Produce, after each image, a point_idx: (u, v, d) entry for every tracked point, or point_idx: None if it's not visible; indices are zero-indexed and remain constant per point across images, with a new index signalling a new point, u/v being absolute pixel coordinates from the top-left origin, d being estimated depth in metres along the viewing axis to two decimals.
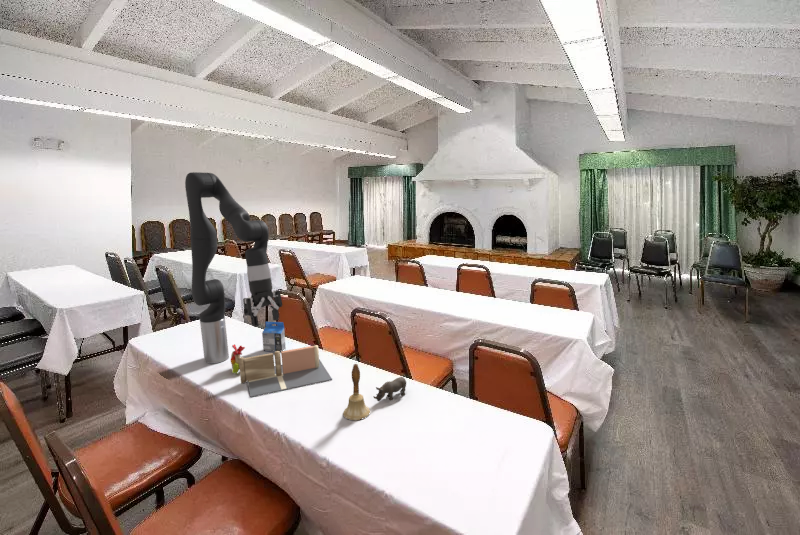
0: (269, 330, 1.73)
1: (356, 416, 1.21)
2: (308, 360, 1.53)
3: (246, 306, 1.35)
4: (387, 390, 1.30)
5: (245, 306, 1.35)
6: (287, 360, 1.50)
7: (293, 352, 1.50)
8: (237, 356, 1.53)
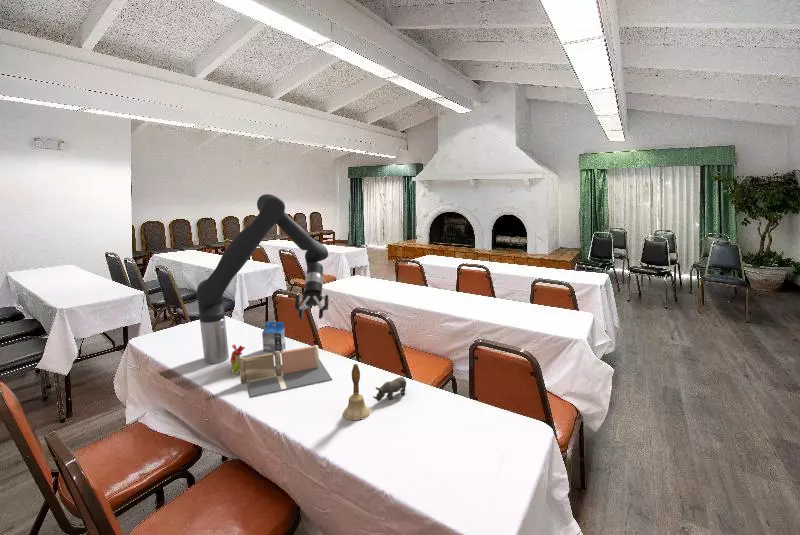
0: (269, 330, 1.73)
1: (356, 416, 1.21)
2: (308, 360, 1.53)
3: (328, 302, 1.72)
4: (387, 390, 1.31)
5: (328, 301, 1.71)
6: (287, 360, 1.50)
7: (293, 352, 1.50)
8: (237, 356, 1.53)
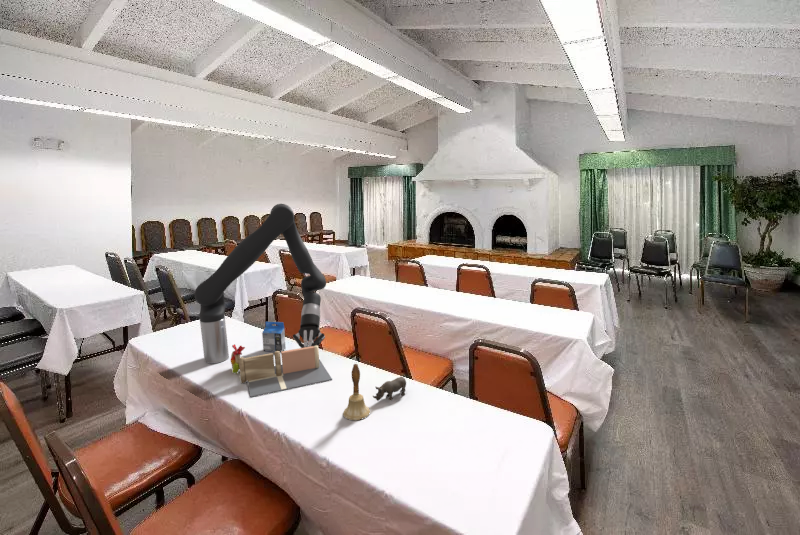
0: (269, 330, 1.73)
1: (356, 416, 1.21)
2: (308, 360, 1.53)
3: (320, 341, 1.59)
4: (387, 390, 1.31)
5: (320, 340, 1.58)
6: (287, 360, 1.50)
7: (293, 352, 1.50)
8: (237, 356, 1.53)
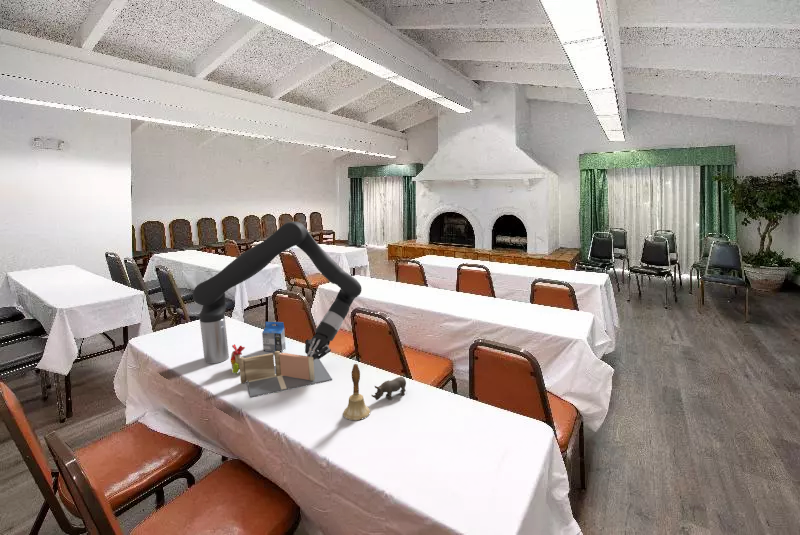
0: (269, 330, 1.73)
1: (356, 416, 1.21)
2: (302, 370, 1.45)
3: (323, 353, 1.46)
4: (386, 390, 1.31)
5: (322, 353, 1.46)
6: (284, 363, 1.47)
7: (289, 357, 1.46)
8: (237, 356, 1.53)
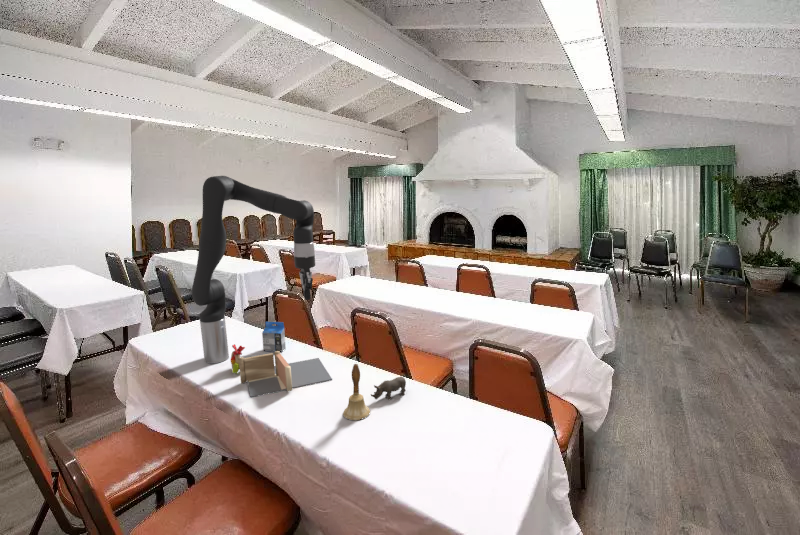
0: (269, 330, 1.73)
1: (356, 416, 1.21)
2: (284, 377, 1.40)
3: (309, 284, 1.48)
4: (385, 389, 1.31)
5: (308, 284, 1.48)
6: (278, 365, 1.46)
7: (279, 360, 1.43)
8: (237, 356, 1.53)
